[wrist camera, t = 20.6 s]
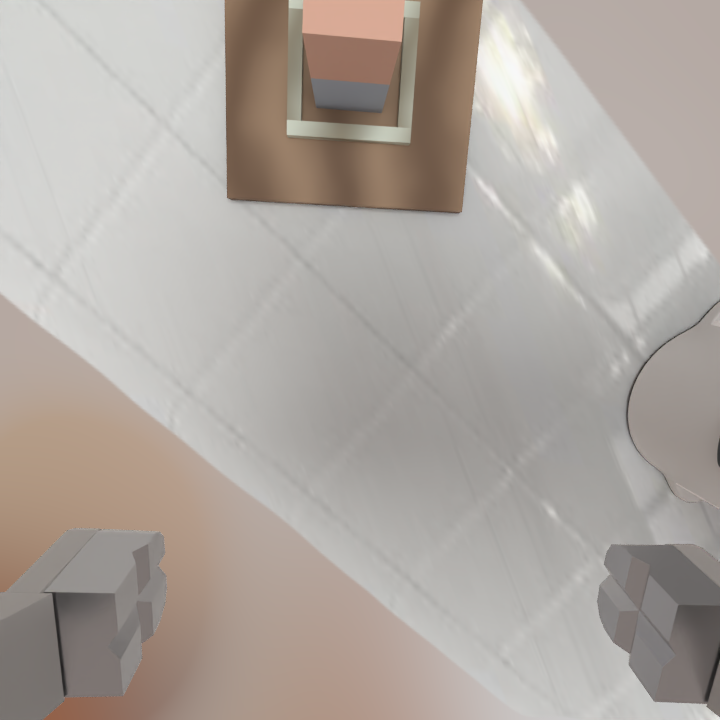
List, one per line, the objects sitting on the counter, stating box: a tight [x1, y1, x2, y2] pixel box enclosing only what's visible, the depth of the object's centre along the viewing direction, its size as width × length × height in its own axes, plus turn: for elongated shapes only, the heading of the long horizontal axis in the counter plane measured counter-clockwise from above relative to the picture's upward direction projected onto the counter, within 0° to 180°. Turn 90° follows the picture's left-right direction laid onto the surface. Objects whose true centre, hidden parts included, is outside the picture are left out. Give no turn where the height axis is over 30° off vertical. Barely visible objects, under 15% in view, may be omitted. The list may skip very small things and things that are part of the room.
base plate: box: [225, 0, 483, 213], centre depth 34 cm, size 18×18×2 cm
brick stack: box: [302, 0, 405, 113], centre depth 27 cm, size 5×5×12 cm
